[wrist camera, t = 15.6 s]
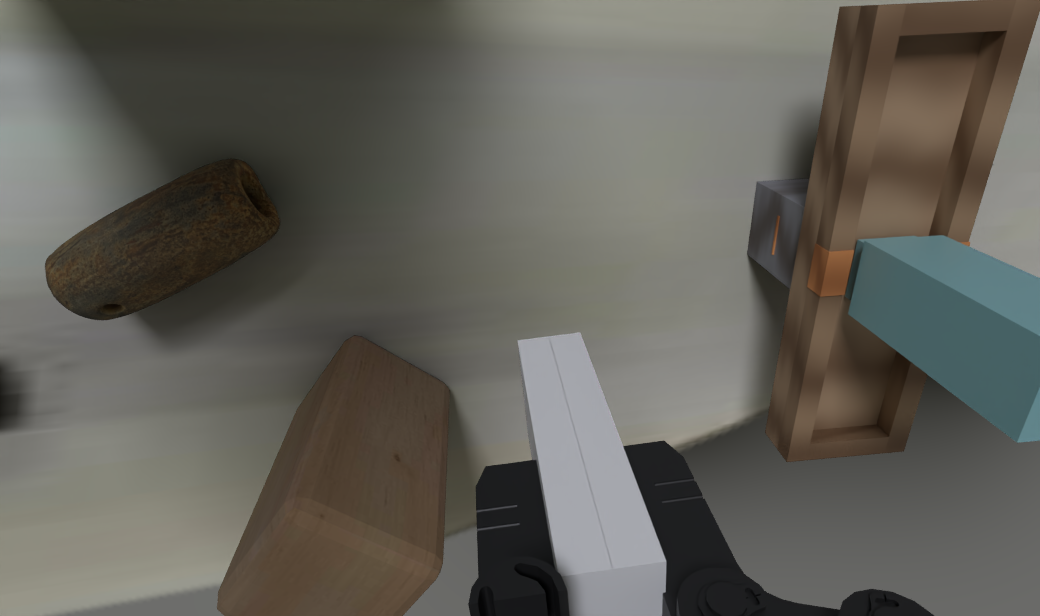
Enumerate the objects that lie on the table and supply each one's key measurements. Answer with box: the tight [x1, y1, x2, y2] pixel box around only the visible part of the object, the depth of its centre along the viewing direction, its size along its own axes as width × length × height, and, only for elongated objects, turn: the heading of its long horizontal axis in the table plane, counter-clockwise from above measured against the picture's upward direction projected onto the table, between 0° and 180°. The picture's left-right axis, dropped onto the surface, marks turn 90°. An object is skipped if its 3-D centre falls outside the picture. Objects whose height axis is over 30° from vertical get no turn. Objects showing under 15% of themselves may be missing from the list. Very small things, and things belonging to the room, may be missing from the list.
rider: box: [845, 235, 1040, 442], centre depth 31 cm, size 5×5×16 cm
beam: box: [747, 0, 1040, 462], centre depth 42 cm, size 30×9×12 cm, turn 2°
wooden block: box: [217, 335, 450, 616], centre depth 43 cm, size 10×10×20 cm
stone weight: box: [45, 159, 280, 320], centre depth 41 cm, size 15×7×7 cm, turn 120°
